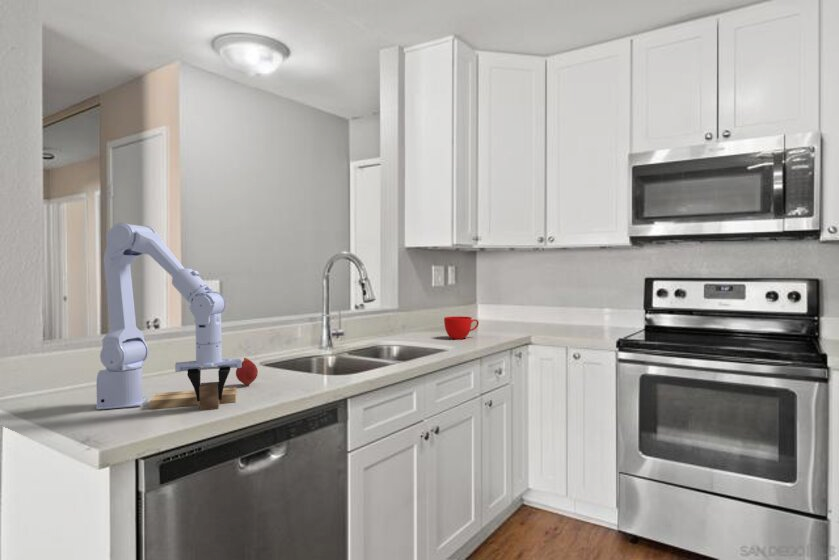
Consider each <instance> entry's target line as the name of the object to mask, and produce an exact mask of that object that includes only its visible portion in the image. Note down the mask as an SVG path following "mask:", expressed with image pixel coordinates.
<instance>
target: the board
mask: <svg viewBox="0 0 839 560" xmlns="http://www.w3.org/2000/svg"><path fill="white" fill-rule="evenodd" d="M237 395H238V393H237V387H236V386H235V387H224V388H223V393H222V399H221V400H219V404H227V403H231V404H232V403H237V402H236V401H237ZM192 406H194V407H195V406H200V401H197V396H196V393H195V390H194V389H193V390H182V391H169V392H157V393H156V392H155V394H154V395H153V396H152V397H151V398H150V400H149V410H155V409H169V408H180V407H181V408H182V407H192Z"/></svg>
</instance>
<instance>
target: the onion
mask: <svg viewBox="0 0 839 560" xmlns="http://www.w3.org/2000/svg"><path fill="white" fill-rule="evenodd" d="M235 376H236V379H237V380H238V381H239V382H240V383H242V384H243V385H244V386H246V387H247V386H249V385H251V384H252V383H253V382H254V381H256V379H257V377H258V367H257V365H256V364H255V363H254V362H252V360H250V359H249V358H248V357H244V358H243V360H242V361H241V368H236V370H235Z"/></svg>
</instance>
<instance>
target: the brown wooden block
mask: <svg viewBox="0 0 839 560" xmlns="http://www.w3.org/2000/svg"><path fill="white" fill-rule="evenodd" d="M218 393H219V381H210V382H209V381H208V382H200V386H199V396H200V405H199V410H200V411H208V410H209V411H210V410H218V409H219V407H220V403H219V400H218Z"/></svg>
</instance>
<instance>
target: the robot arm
mask: <svg viewBox="0 0 839 560" xmlns="http://www.w3.org/2000/svg"><path fill="white" fill-rule="evenodd" d="M105 237H106V240H105V241H106V248H105V250H104V255H103V267H104V279H105V286H106V287H105V288H106V297H107V308H108V317H109V328H110V330H109V331H108V332H107V334H105V336H104V337H102V347H101V351H100V354H99V358H100V362H101V364H102V365H103V366H104V367H105V368H106V369H100V370H98V373H97V375H96V408H95V409H96V410H108V409H121V408H132V407H133V408H134V407H141V406H142V405H143V404H144V403H145V402H146V401H147V399H148V397H147V396H144V395H143V394H144V393H143V392H144V391H143V390H144V389H143V366H144V364H145V363H144V362H145V361H146V360H147V359H148V356H149V346H148V344H147V342H146V340H145V337H144V336H145V335H144V332H142V331H141V330H140V329H139V328H138V327H137V323H136V322H137V321H136V320H137V319H136V311H135V301H134V291H133V279H132V271H131V270H132V269H131V264H132V263H133V262H134V261H135V260H137V258H138V257H141V256H142V255H148V256H150V257H151V258H152V259H153V260H154V261H155V262H156V263H157V264H158V265H159V266H160V267H161V268H162V269H163V270H164V271H165V272H167V274H168V275H169V276H171V277H172V278H171V284H172V287H174V288H175V289H176V290H177V291H178V293H179V294H181V296H182V297H183V298H184V299H185V300H186V301H187V302H188V304H189V310H190V312H191V314H192V316H193V317H194V323H195V360H191V361H180V362H176V363H175V365H174V367H175V368H174V369H175V371H174V372H175V373H180V372H187V378H188V380H189V381H190V383H191V385H192V386H193V390H195V393H196V396H197V401H200V396H199V386H200V384H201V372H202V371H203V370H206V371H207V370H217V369H218V370H217V371H218V373H217V374H218V375H217V376H218V382H219V393H218V400H221V399H222V393H223V388H225V384H226V381H227V378H228V377H229V374H230V371H231V369H234V368H236V369H237V368H241V363H242V358H223V354H222V353H223V350H222V349H223V346H222V345H223V344H222V343H223V341H222V340H223V339H222V313H223V312H224V311H225V308H226V305H227V304H226V300H225V297H224V296H223V294H222V292H219V291H214V290H213V287H212V286H211V285H207V283H206V282H205V281H204V280H203V279H202V278H201V277H200V272H199V271H198V270H194V269H193V268H185V267H184V266H183V265H182V263H181V262H180V261H179V260H178V258H177V257H176V256H175V255H174V253H173V252H172V251H171V250H170V249H169V247H168V246H167V245H166V244H165V243H164V241H163V239H162V236H161V235H160V234H159V233H157V231H156V230H155V229H154V228H153V227H152V226H149V225H139V224H129V223H126V222H118V223H115V224H114V225H113V226H112V227H111V228H109V230H108V231H107V232H106V233H105Z"/></svg>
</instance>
